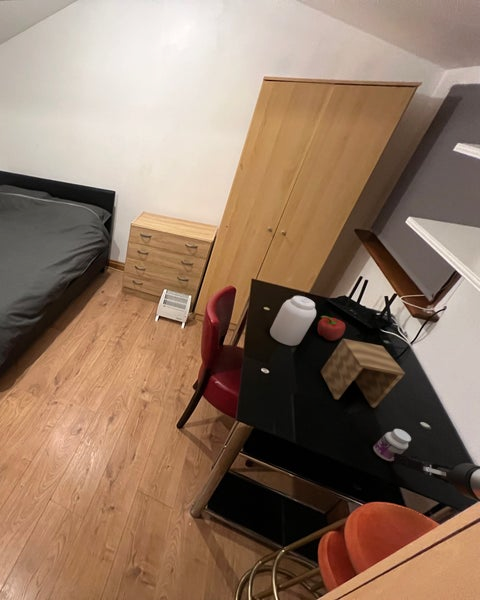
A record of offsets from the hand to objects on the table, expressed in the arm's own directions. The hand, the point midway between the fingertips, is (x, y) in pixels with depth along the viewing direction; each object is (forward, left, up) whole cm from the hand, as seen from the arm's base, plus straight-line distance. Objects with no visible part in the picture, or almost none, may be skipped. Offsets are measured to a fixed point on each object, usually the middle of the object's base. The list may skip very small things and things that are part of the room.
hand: (397, 458), depth 93 cm
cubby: (+25, -18, -4) cm, 31 cm away
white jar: (+55, -21, -4) cm, 59 cm away
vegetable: (+50, -41, -4) cm, 65 cm away
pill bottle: (+3, -2, -4) cm, 6 cm away
